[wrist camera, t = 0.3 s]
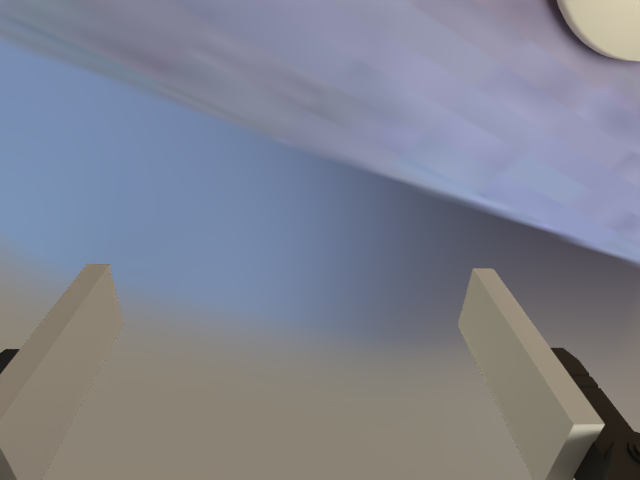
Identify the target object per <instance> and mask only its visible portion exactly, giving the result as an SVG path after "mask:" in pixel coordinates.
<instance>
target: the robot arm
mask: <svg viewBox="0 0 640 480" xmlns="http://www.w3.org/2000/svg"><path fill="white" fill-rule="evenodd" d="M123 325H124V324H123V320H122V315H121V311H120V307H119V303H118V299H117V294H116V290H115V287H114V282H113V278H112V273H111V269H110V265H109V264H87V265H86V266H85V267H84V268H83V270H82V271H81V272H80V274H79V275H78V276H77V278H76V279H75V280H74V281H73V283H72V284H71V285H70V286H69V288H68V289H67V290H66V291H65V293H64V294H63V295H62V297H61V298H60V299H59V300H58V302H57V303H56V304H55V306H54V307H53V308H52V310H50V312H49V313H48V314H47V316H46V317H45V318H44V319H43V321H42V322H41V323H40V324H39V326H38V327H37V328H36V330H35V331H34V332H33V334H32V335H31V336H30V337H29V339H28V340H27V341H26V342H25V344H24V345H23V346H22V348H21V349H6V350H4V351H3V352H1V353H0V480H42V478H43V476H44V475H45V473H46V471H47V469H48V467H49V465H50V463H51V461H52V460H53V458H54V456H55V454H56V452H57V450H58V448H59V446H60V444H61V443H62V441H63V439H64V437H65V435H66V433H67V431H68V429H69V427H70V426H71V424H72V422H73V420H74V418H75V416H76V414H77V412H78V410H79V408H80V407H81V405H82V403H83V401H84V399H85V397H86V395H87V393H88V391H89V389H90V388H91V385H92V384H93V382H94V380H95V378H96V376H97V374H98V372H99V370H100V368H101V367H102V365H103V363H104V361H105V359H106V357H107V355H108V353H109V351H110V350H111V348H112V346H113V344H114V342H115V340H116V338H117V336H118V335H119V333H120V331H121V329H122V327H123ZM458 327H459V329H460V331H461V333H462V335H463V337H464V339H465V341H466V343H467V345H468V347H469V349H470V352H471V353H472V356H473V358H474V360H475V362H476V364H477V366H478V368H479V370H480V372H481V374H482V376H483V378H484V380H485V382H486V384H487V386H488V388H489V390H490V392H491V394H492V397H493V399H494V401H495V403H496V405H497V407H498V409H499V411H500V413H501V415H502V417H503V419H504V421H505V423H506V425H507V427H508V429H509V431H510V433H511V435H512V437H513V440H514V442H515V444H516V445H517V448H518V450H519V452H520V454H521V456H522V458H523V460H524V462H525V464H526V466H527V468H528V470H529V472H530V474H531V477H532V478H533V480H573V479H574V478H575V480H640V433H638V432H634V431H633V430H632V429H631V427H630V426H629V425H628V423H627V422H626V421H625V420H624V418H623V417H622V416H621V414H620V413H619V412H618V410H617V409H616V408H615V407H614V405H613V404H612V403H611V401H610V400H609V399H608V398H607V396H606V395H605V394H604V392H603V391H602V390H601V388H598V385H597V383H596V382H595V381H594V380H593V378H592V377H590V376H589V373H588V372H587V370H586V369H585V368H584V366H583V365H582V364H581V363H580V361H579V360H577V358H575V357H574V356H573V355H571V354H570V353H569V352H567V351H566V350H565V349H563V348H550V347H549V346H548V344H547V343H546V342H545V340H544V339H543V338H542V336H541V335H540V334H539V332H538V331H537V329H536V328H535V326H534V325H533V324H532V322H531V321H530V319H529V318H528V317H527V315H526V314H525V312H524V311H523V310H522V308H521V307H520V305H519V304H518V303H517V301H516V300H515V299H514V297H513V296H512V294H511V293H510V292H509V290H508V289H507V287H506V286H505V285H504V283H503V282H502V280H501V279H500V278H499V276H498V275H497V273H496V272H495V271H494V269H473V271H472V274H471V279H470V282H469V286H468V290H467V293H466V297H465V301H464V305H463V308H462V312H461V316H460V320H459V323H458Z"/></svg>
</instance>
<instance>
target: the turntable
mask: <svg viewBox="0 0 640 480" xmlns="http://www.w3.org/2000/svg"><path fill="white" fill-rule="evenodd" d="M557 3H558V6H559V9H560V11H561V13H562V15H563V17H564V19H565V21H566V23H567V24H568V25H569V27H570V28H571V30H572V31H573V32H574V34H575V35H576V36H577V37H578V38H579V39H580V40H581V41H582V42H583V43H584V44H586V45H587V46H589V47H590V48H591V49H593V50H594V51H596V52H598V53H600V54H602V55H605V56H607V57H610V58H614V59H618V60H625V61H640V0H557Z"/></svg>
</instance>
